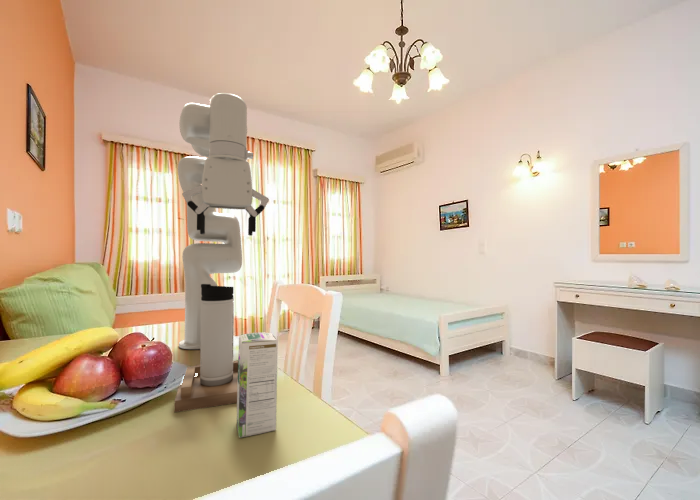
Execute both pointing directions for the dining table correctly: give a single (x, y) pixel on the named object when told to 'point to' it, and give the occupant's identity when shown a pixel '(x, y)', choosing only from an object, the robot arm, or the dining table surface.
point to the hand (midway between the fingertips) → (226, 234)
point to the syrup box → (257, 384)
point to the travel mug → (216, 335)
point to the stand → (204, 391)
